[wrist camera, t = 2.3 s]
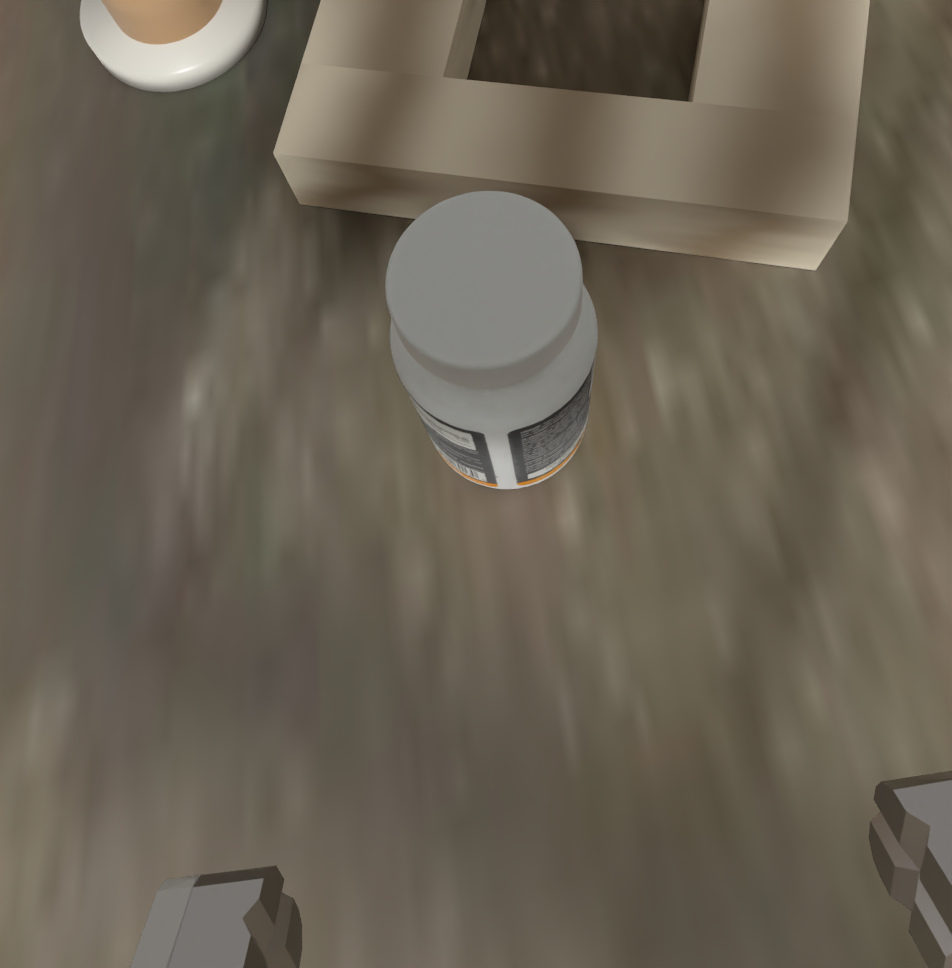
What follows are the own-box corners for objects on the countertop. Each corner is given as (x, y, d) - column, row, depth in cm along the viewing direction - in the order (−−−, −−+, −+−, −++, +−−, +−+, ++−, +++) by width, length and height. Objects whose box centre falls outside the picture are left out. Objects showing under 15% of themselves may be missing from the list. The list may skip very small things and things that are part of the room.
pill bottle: (569, 331, 27) (580, 145, 18) (601, 478, 26) (632, 362, 16) (418, 360, 28) (350, 193, 18) (441, 508, 26) (380, 410, 17)
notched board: (299, 204, 30) (272, 153, 27) (375, -50, 33) (358, -120, 30) (815, 270, 27) (847, 221, 24) (846, -14, 30) (878, -88, 27)
